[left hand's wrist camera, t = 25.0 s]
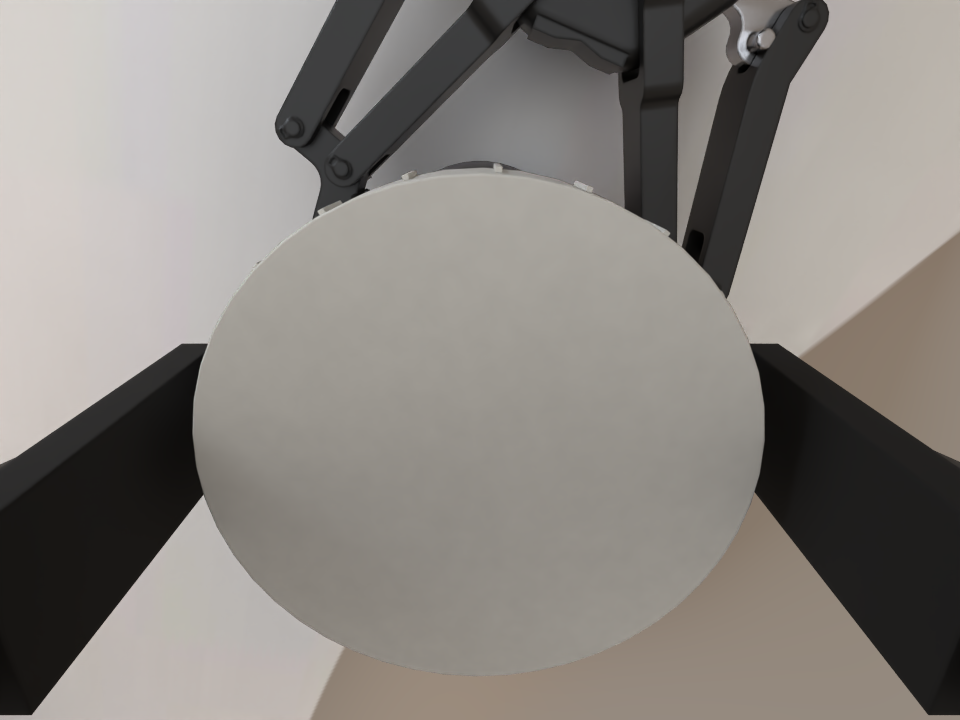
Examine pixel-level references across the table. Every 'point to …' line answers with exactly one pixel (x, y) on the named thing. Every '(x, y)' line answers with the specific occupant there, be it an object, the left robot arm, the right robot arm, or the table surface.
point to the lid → (478, 423)
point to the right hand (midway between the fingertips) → (440, 395)
